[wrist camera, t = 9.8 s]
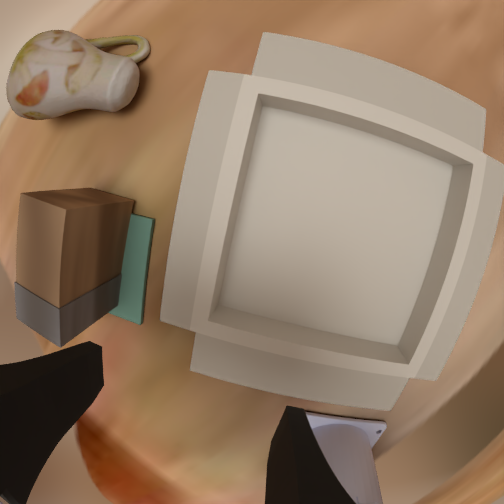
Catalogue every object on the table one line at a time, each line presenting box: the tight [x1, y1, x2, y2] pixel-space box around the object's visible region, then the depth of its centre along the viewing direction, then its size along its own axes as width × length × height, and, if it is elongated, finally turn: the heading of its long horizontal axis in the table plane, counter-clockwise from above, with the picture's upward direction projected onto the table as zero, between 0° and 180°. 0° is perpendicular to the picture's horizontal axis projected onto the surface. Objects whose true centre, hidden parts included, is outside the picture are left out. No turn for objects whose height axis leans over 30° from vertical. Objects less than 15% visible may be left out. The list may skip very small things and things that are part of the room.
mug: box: [7, 30, 150, 120], centre depth 15 cm, size 8×10×10 cm
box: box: [15, 188, 134, 348], centre depth 16 cm, size 4×8×7 cm, turn 164°
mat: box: [108, 213, 155, 325], centre depth 20 cm, size 8×8×1 cm
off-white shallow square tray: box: [160, 32, 504, 411], centre depth 17 cm, size 21×19×3 cm
